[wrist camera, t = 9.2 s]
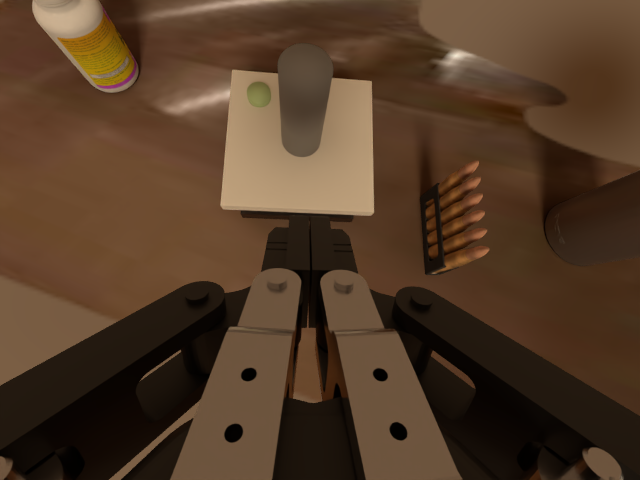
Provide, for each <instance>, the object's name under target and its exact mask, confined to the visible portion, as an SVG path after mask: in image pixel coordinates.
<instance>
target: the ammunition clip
mask: <svg viewBox="0 0 640 480" xmlns="http://www.w3.org/2000/svg"><path fill="white" fill-rule="evenodd" d="M478 164H479V161H473V162H470V163H468V164H466V165H465V166H463V167H462V168H461V169H459V170H458V171H457V172H455V173H453V174H451V175H450V176H448V177H447V178H446V179H445V180H444V181H443V182H442V183H440V184H439V183H437V184H436V185H434V186H433V187H432V188H431V189H429V190H428V191H427V192H426V193H424V194H423V195H422V196H421V197H420V204H421V218H422V233H423V248H424V263H425V274H426V275H440V274H443V273H445V272H448V271H451V270H453V269H456V268H459V266H462V265H465V264H467V263H469V262H470V261H473V260H475V259H478V258H480V257H482V256H483V255H485V254H486V253H487V252H488V251H489V248H488V247H485V246H478V247H473V248H469V249H465V250H460V249H463V248H465V247H467V246H468V245H469V244H471V243H473V242H474V241H477V240H478V239H480V238H481V237H483V236H484V235H485V234H486V232H487V229H485V228H477V229H473V230H470V231H468V232H464V233H461V232H463V231H465V230H466V229H467V228H468V227H470V226H471V225H473V224H474V223H476V222H477V221H479V220H480V219H481V218H482V217H483V216H484V214H485V211H483V210H479V211H474V212H471V213H469V214H467V215H464V214H465V213H466V212H467V211H468V210H470V209H471V208H472V207H474V206H475V205H476V204H477V203H478V202H479V201H480V200H481V199H482V197H483V194H481V193H478V194H474V195H471V196H469V197H467V198H465V199H463V198H464V197H465V196H466V195H467V194H468V193H469V192H471V191H472V190H473V189H474V188H475V187H476V186H477V185H478V184H479V182H480V180H481V177H474V178H471V179H469V180H467V181H466V182H464V183H463V181H464V180H466V179H467V178H468V177H469V176H470V175H471V174H472V173H473V172H474V171H475V169H476V168H477V166H478ZM462 183H463V184H462ZM462 199H463V200H462ZM463 215H464V216H463ZM461 216H462V217H461ZM459 233H460V234H459Z"/></svg>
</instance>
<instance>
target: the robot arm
mask: <svg viewBox="0 0 640 480" xmlns="http://www.w3.org/2000/svg"><path fill="white" fill-rule="evenodd" d="M545 232H546V236H547V239H548V242H549V244H550V246H551V247H552V248H553V250H554V251H555V252H556V253H557V254H558V255H559V256H560V257H561V258H562V259H564V260H565V261H567V262H569V263H571V264H574V265H579V266H588V265H594V264H600V263H606V262H612V261H619V260H625V259H631V258H637V257H640V170H639V171H636V172H634V173H632V174H629V175H627V176H624V177H622V178H620V179H617V180H615V181H612V182H610V183H607V184H605V185H603V186H600V187H598V188H595V189H593V190H591V191H588V192H586V193H583V194H581V195H578V196H576V197H574V198H571V199H569V200H567V201H564V202H562V203H560V204H557V205H556V206H554V207H553V208H552V209H551V210H550V211H549V213H548V215H547V217H546V221H545ZM308 310H309V328H316V342H315V352H316V359H317V367H318V375H319V382H320V390H321V398H322V402H318V403H308V402H304V401H300V400H296V399H293V393H294V384H295V375H296V366H297V358H298V348H299V342H300V340H301V328H307V315H308ZM180 349H181V353H179V354H178V355H177V356H175V357H174V358H172V359H171V360H169V361H168V362H167V363H165V364H164V365H162V366H161V367H159V368H158V369H157V370H155V371H154V372H153V373H151V374H150V375H148V376H147V377H145V378H144V379H143V380H141V378H142V377H143V376H144V375H145V374H146V373H148V372H149V371H150V370H152V369H153V368H155V367H156V366H157V365H159V364H160V363H162V362H163V361H165V360H166V359H167V358H169V357H170V356H172V355H173V354H174V353H176V352H177V351H179V350H180ZM433 350H434V351H435V352H436V353H438V354H439V355H440V356H442V357H443V358H445V359H446V360H447V361H449V362H450V363H451V364H453V365H454V366H455V367H457V368H458V369H459V370H461V371H462V372H464V373H465V374H466V375H467V376H468V377H469V378H470V379H471V380H472V381H473V383H474V385H475V388H476V389H474V388H472V387H471V386H470V385H468V384H467V383H466V382H464V381H463V380H462V379H460V378H459V377H458V376H456V375H455V374H454V373H452V372H451V371H450V370H448V369H447V368H446V367H444V366H443V365H442V364H440V363H439V362H438V361H436V360H435V359H434V358H432V357H431V353H432V351H433ZM140 380H141V381H140ZM139 381H140V382H139ZM200 399H201V401H200V403H199V406H198V408H197V411H196V414H195V416H194V418H192V419H191V420H189V421H188V422H186V423H184V424H183V425H181V426H180V427H179V428H177V429H176V430H175V431H173V432H172V433H171V434H169V435H168V436H167V437H166V438H165V439H164V440H163V441H162V442H161V443H159V444H158V445H157V446H156V447H155V448H154V449H153V450H152V451H151V452H150V453H149V454H148V455H147V456H146V457H145V458H143V459H142V461H140V462H139V463H138V464H137V465H136V466H135V467H134V468H133V469H132V470H131V471H130V472H129V473H128V474H127V475H126V476H124V477H123V478H122V479H121V480H640V416H639V415H637V414H635V413H634V412H632V411H630V410H629V409H627V408H625V407H624V406H622V405H620V404H619V403H617V402H615V401H614V400H612V399H610V398H609V397H607V396H605V395H604V394H602V393H600V392H599V391H597V390H595V389H594V388H592V387H590V386H589V385H587V384H585V383H584V382H582V381H580V380H579V379H577V378H575V377H574V376H572V375H570V374H569V373H567V372H565V371H564V370H562V369H560V368H559V367H557V366H555V365H554V364H552V363H550V362H549V361H547V360H545V359H544V358H542V357H540V356H539V355H537V354H535V353H534V352H532V351H530V350H529V349H527V348H525V347H524V346H522V345H520V344H519V343H517V342H515V341H514V340H512V339H510V338H509V337H507V336H505V335H504V334H502V333H500V332H499V331H497V330H495V329H494V328H492V327H490V326H489V325H487V324H485V323H484V322H482V321H480V320H479V319H477V318H475V317H474V316H472V315H470V314H469V313H467V312H465V311H464V310H462V309H460V308H459V307H457V306H455V305H454V304H452V303H450V302H449V301H447V300H445V299H444V298H442V297H440V296H439V295H437V294H435V293H434V292H432V291H430V290H427V289H424V288H421V287H405V288H402V289H400V290H399V291H398V292H397V294H396V297H393V296H389V295H385V294H381V293H378V292H375V291H373V290H371V289H369V288H368V285H367V283H366V281H365V279H364V278H363V277H362V276H360V275H359V274H358V271H357V267H356V263H355V258H354V254H353V250H352V246H351V242H350V238H349V236H348V235H347V234H346V233H345V232H344V231H343V230H340V229H331V227H330V220H329V217H324V216H310V225H309V216H296V215H290V220H289V228H281V227H275V228H274V229H273V230H272V231H271V232H270V233H269V235H268V240H267V245H266V250H265V255H264V260H263V265H262V270H261V273H259V274H258V275H257V276H256V277H255V278H254V280H253V283H252V285H251V286H250V287H248V288H246V289H243V290H239V291H235V292H230V293H224V290H223V288H222V287H221V286H220V285H218V284H216V283H213V282H208V281H199V282H193V283H190V284H187V285H184V286H182V287H180V288H179V289H177V290H175V291H173V292H171V293H169V294H168V295H166V296H164V297H162V298H160V299H158V300H157V301H155V302H153V303H151V304H149V305H147V306H146V307H144V308H142V309H140V310H138V311H136V312H135V313H133V314H131V315H129V316H127V317H125V318H124V319H122V320H120V321H118V322H116V323H114V324H113V325H111V326H109V327H107V328H105V329H104V330H102V331H100V332H98V333H96V334H94V335H92V336H91V337H89V338H87V339H85V340H83V341H81V342H80V343H78V344H76V345H74V346H72V347H70V348H68V349H67V350H65V351H63V352H61V353H59V354H58V355H56V356H54V357H52V358H50V359H48V360H46V361H45V362H43V363H41V364H39V365H37V366H35V367H34V368H32V369H30V370H28V371H26V372H24V373H23V374H21V375H19V376H17V377H15V378H13V379H12V380H10V381H8V382H6V383H4V384H3V385H1V386H0V480H109V479H110V478H111V477H112V476H114V475H115V474H116V473H117V472H118V471H119V470H120V469H121V468H123V467H124V466H125V465H126V464H127V463H128V462H130V461H131V460H132V459H133V458H134V457H135V456H136V455H137V454H139V453H140V452H141V451H142V450H143V449H144V448H146V447H147V446H148V445H149V444H150V443H151V442H152V441H154V440H155V439H156V438H157V437H158V436H159V435H160V434H162V433H163V432H164V431H165V430H166V429H167V428H168V427H169V426H171V425H172V424H173V423H174V422H175V421H176V420H178V418H180V417H181V416H182V415H183V414H184V413H186V412H187V411H188V410H189V409H190V408H191V407H192V406H194V405H195V404H196V403H197V402H198V401H199V400H200Z"/></svg>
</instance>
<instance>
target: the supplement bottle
mask: <svg viewBox="0 0 640 480" xmlns="http://www.w3.org/2000/svg"><path fill="white" fill-rule="evenodd" d="M32 8H33V13H34V16H35V18H36V20H37V22H38V23H39V25H40V26H41V27H42V28H43V29H44V30H45V32H46V33H47V34H48V35H49V36H50V37H51V38H52V40H53V41H54V42H55V43H56V44H57V45H58V47H59V48H60V49H61V50H62V51H63V52H64V54H65V55H66V56H67V57H68V58H69V59H70V60H71V62H72V63H73V64H74V65H75V66H76V67H77V69H78V70H79V71H80V72H81V73H82V74H83V76H84V77H85V78H86V79H87V80H88V81H89V82H90V83H91V84H92V85H93V86H94V87H95V88H97V89H99V90H101V91H104V92H111V93H113V92H120V91H123V90H125V89H127V88H129V87H130V86H131V85H133V83H134V82H135V81H136V79H137V77H138V72H139V69H138V64H137V62H136V60H135V59H134V57H133V55H132V53H131V52H130V50H129V49H128V47H127V45H126V44H125V42H124V40H123V39H122V37H121V36H120V34H119V32H118V31H117V29H116V28H115V26H114V24H113V23H112V21H111V19H110V18H109V16H108V15H107V13H106V11H105V10H104V8H103V6H102V5H101V3H100V1H99V0H33V4H32Z"/></svg>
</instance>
